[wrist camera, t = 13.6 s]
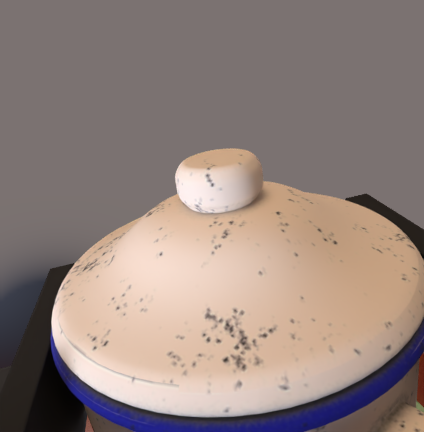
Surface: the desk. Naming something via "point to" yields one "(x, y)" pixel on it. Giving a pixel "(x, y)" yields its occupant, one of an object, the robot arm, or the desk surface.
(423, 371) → the desk surface
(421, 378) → the desk surface
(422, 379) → the desk surface
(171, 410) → the teacup with lid
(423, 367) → the desk surface
